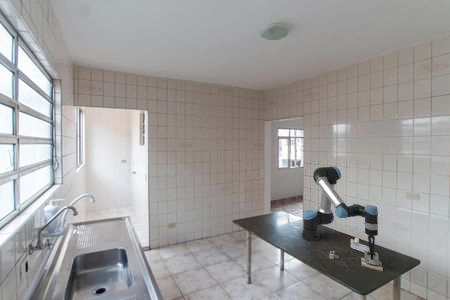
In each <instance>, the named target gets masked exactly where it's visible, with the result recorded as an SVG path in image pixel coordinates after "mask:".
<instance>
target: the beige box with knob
mask: <svg viewBox="0 0 450 300" xmlns="http://www.w3.org/2000/svg"><path fill="white" fill-rule="evenodd" d="M335 253H336V251H334V250H333V251H332V250H330V251H329V254H328V257H329V259H331V260H334V259H335V258H334V255H336V254H335Z"/></svg>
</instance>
